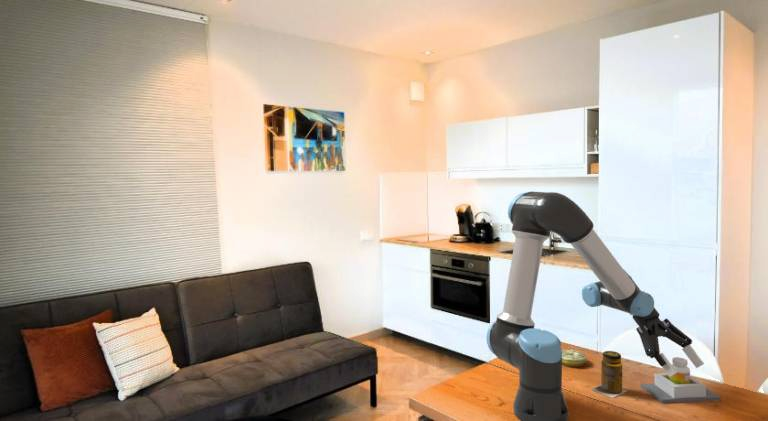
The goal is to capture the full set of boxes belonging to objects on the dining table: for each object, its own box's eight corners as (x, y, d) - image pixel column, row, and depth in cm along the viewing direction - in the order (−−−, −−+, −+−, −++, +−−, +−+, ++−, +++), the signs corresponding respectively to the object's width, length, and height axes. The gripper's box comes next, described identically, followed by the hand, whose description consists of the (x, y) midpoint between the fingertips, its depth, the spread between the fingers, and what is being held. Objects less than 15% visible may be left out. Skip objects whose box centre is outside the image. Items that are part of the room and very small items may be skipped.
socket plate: (661, 402, 143) (661, 388, 143) (640, 387, 154) (640, 373, 154) (720, 400, 144) (720, 385, 143) (695, 384, 154) (695, 371, 154)
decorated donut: (592, 363, 175) (592, 353, 174) (574, 370, 169) (574, 360, 168) (568, 355, 183) (568, 345, 183) (550, 361, 177) (550, 351, 177)
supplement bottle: (665, 388, 150) (665, 358, 149) (676, 385, 152) (676, 355, 152) (682, 395, 145) (683, 364, 145) (693, 391, 148) (694, 360, 147)
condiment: (628, 391, 151) (628, 354, 151) (612, 398, 147) (613, 360, 146) (606, 383, 157) (606, 347, 157) (591, 390, 153) (591, 353, 152)
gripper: (657, 311, 167) (702, 367, 154) (609, 322, 155) (652, 384, 143) (673, 299, 162) (720, 356, 149) (624, 310, 150) (670, 373, 138)
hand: (687, 370), depth 146 cm, fingers open, 13 cm apart
